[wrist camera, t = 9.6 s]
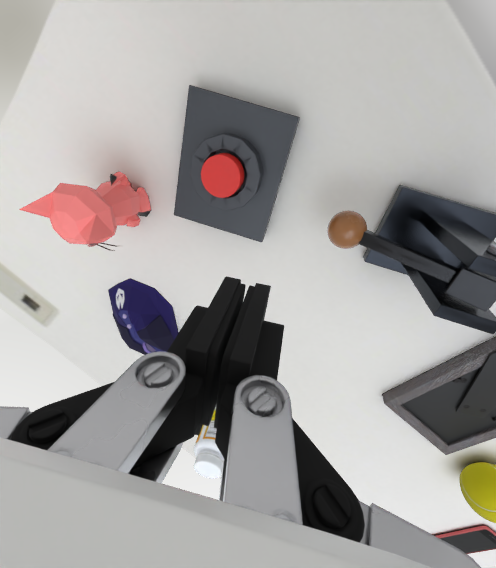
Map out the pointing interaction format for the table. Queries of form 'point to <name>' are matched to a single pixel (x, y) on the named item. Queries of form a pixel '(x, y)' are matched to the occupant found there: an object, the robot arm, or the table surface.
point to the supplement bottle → (208, 452)
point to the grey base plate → (245, 147)
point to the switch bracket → (440, 248)
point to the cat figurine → (92, 209)
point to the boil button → (222, 175)
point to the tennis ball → (480, 488)
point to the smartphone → (471, 539)
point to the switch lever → (415, 260)
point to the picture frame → (452, 400)
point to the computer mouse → (143, 317)
